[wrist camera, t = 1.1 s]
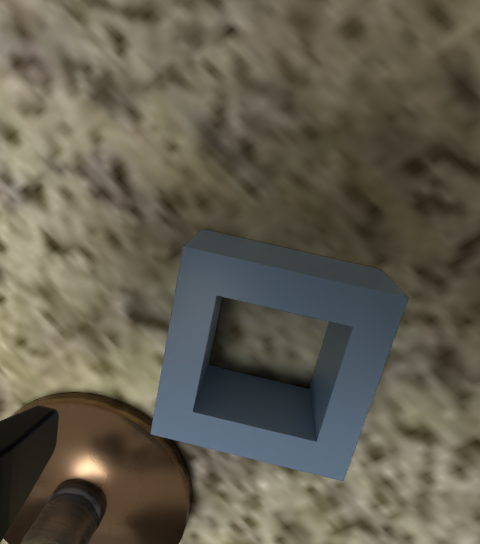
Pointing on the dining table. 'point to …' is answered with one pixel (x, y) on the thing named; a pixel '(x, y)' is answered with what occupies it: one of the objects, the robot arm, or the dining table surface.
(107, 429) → the post
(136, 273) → the dining table surface
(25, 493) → the robot arm
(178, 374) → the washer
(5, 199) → the dining table surface
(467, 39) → the dining table surface
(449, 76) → the dining table surface
